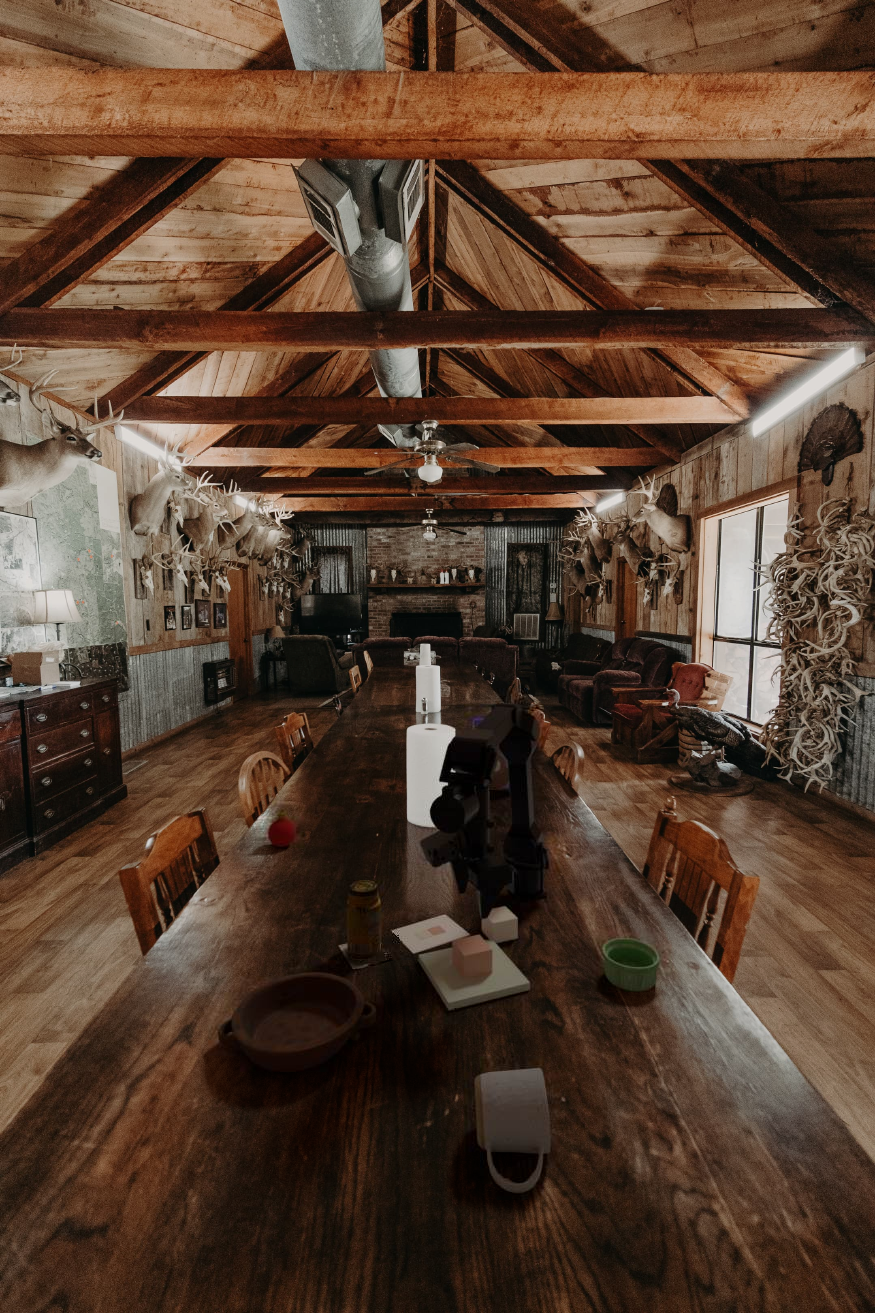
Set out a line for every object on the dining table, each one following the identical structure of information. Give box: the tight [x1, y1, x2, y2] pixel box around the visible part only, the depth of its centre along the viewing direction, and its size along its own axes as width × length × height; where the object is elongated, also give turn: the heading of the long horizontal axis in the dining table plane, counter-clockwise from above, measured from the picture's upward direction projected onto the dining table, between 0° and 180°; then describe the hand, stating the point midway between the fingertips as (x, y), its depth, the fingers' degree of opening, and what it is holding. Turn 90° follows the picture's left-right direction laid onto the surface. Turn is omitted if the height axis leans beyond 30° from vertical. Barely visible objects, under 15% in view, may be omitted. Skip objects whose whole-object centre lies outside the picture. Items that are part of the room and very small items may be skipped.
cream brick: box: [481, 905, 519, 944], centre depth 114 cm, size 5×5×4 cm
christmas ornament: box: [267, 807, 297, 848], centre depth 159 cm, size 7×7×10 cm
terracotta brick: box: [451, 934, 492, 980], centre depth 101 cm, size 5×5×4 cm
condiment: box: [338, 879, 387, 970], centre depth 108 cm, size 7×8×12 cm
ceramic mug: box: [474, 1067, 551, 1194], centre depth 68 cm, size 11×8×8 cm
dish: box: [217, 971, 377, 1073], centre depth 87 cm, size 18×22×5 cm
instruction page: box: [391, 914, 471, 955], centre depth 115 cm, size 12×9×1 cm
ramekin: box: [602, 937, 660, 992], centre depth 101 cm, size 9×9×4 cm
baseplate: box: [418, 939, 531, 1011], centre depth 102 cm, size 14×14×1 cm
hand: (472, 905), depth 101 cm, fingers open, 9 cm apart
